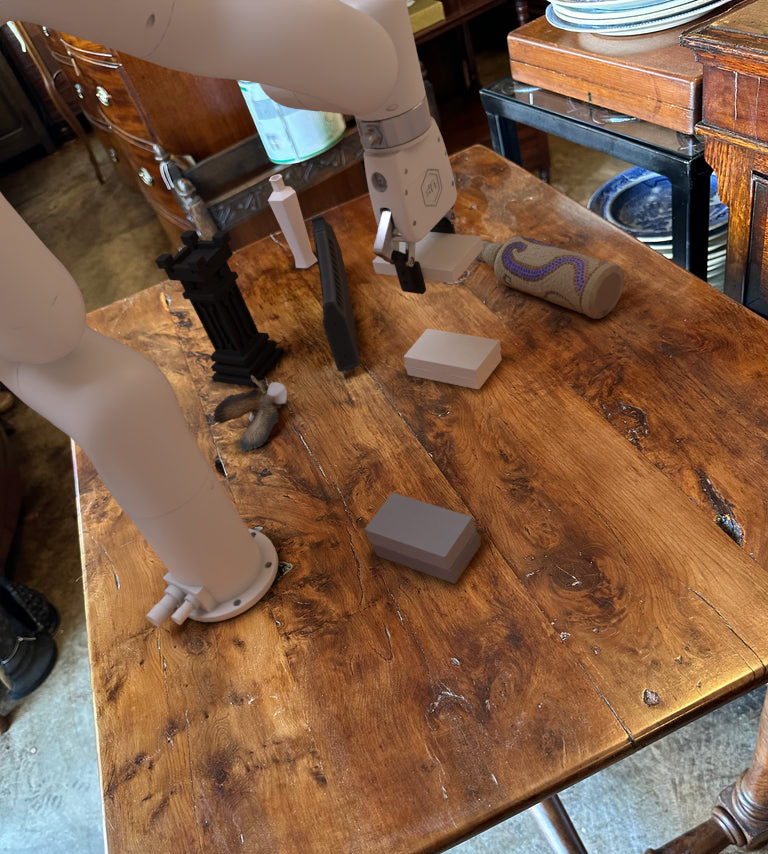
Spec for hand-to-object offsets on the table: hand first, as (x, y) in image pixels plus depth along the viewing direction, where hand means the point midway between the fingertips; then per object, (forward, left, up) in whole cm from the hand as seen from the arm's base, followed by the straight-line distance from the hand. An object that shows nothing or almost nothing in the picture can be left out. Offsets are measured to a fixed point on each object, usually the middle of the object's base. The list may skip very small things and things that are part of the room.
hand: (431, 271), depth 94 cm
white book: (0, 0, +1) cm, 1 cm away
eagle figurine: (-18, +20, -15) cm, 31 cm away
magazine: (+6, +23, -15) cm, 28 cm away
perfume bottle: (+18, +40, -15) cm, 46 cm away
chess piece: (-8, +31, -15) cm, 35 cm away
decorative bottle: (+19, -4, -15) cm, 25 cm away
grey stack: (-28, -13, -14) cm, 34 cm away
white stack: (0, 0, -14) cm, 14 cm away
